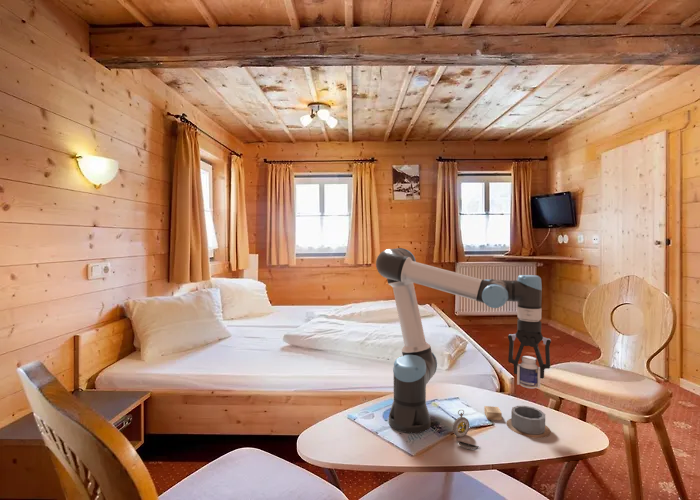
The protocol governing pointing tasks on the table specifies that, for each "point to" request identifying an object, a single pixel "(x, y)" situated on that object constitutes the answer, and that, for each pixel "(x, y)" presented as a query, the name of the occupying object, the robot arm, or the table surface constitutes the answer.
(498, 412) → the oak block
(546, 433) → the board
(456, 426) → the pocket watch
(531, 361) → the pill bottle
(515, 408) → the grey round bowl
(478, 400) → the table surface
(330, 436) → the table surface
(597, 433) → the table surface
